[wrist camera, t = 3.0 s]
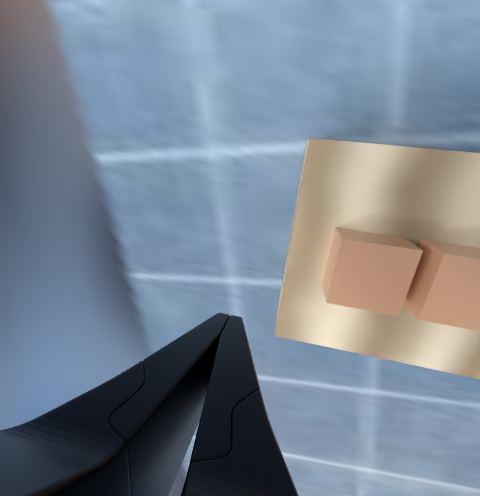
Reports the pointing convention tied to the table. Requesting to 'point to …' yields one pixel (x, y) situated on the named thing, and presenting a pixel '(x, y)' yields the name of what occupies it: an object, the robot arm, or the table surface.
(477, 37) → the table surface
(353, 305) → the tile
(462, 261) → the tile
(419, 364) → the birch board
